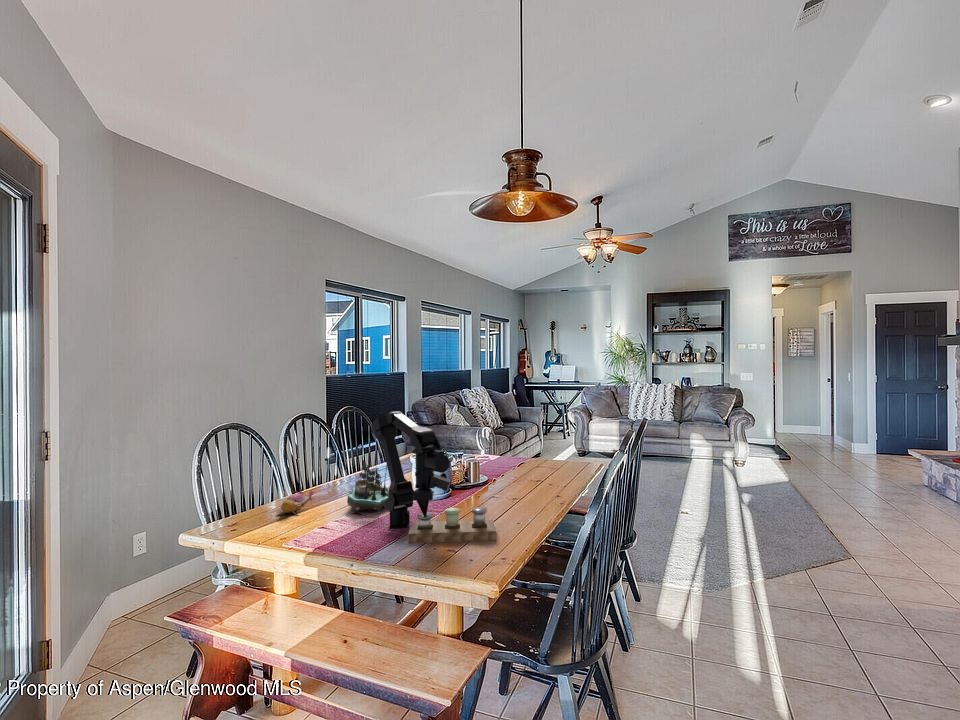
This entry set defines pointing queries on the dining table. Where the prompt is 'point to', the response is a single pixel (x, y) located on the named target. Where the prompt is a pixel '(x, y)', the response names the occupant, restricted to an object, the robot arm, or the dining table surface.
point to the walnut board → (452, 532)
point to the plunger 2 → (479, 515)
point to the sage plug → (452, 516)
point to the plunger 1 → (425, 521)
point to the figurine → (294, 502)
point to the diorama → (368, 492)
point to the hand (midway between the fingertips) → (424, 515)
